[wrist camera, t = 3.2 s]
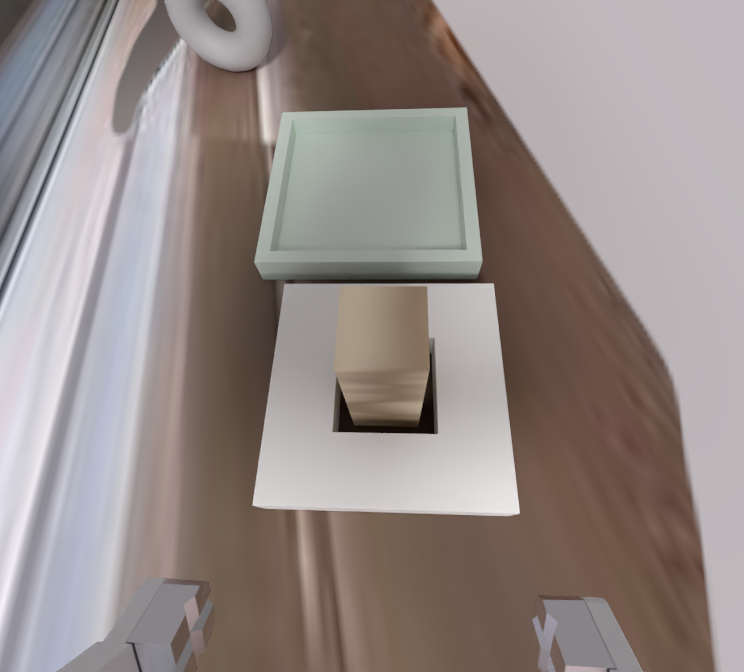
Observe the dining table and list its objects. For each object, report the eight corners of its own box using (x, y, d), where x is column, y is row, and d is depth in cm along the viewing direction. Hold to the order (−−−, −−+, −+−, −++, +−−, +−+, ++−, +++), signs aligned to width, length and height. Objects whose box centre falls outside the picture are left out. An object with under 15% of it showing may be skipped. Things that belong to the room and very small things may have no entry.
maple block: (354, 425, 26) (333, 367, 17) (357, 366, 28) (339, 286, 19) (418, 427, 26) (429, 368, 17) (416, 367, 28) (427, 286, 19)
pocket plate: (265, 508, 25) (252, 505, 22) (292, 302, 31) (284, 283, 28) (507, 516, 24) (519, 513, 21) (486, 302, 30) (493, 283, 28)
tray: (263, 279, 32) (254, 262, 30) (288, 134, 39) (282, 112, 37) (476, 279, 31) (482, 261, 29) (463, 130, 38) (466, 107, 36)
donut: (187, 75, 43) (132, -46, 34) (199, 55, 45) (151, -66, 36) (278, 84, 42) (246, -40, 33) (288, 63, 43) (260, -61, 34)
